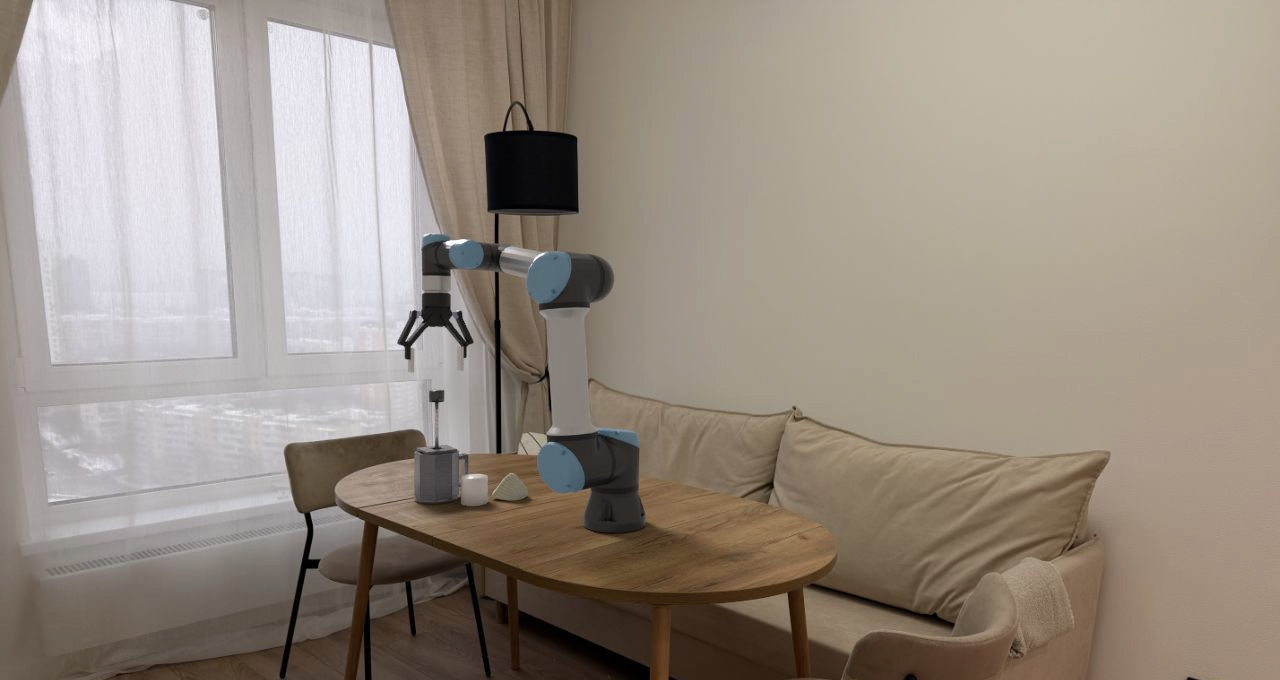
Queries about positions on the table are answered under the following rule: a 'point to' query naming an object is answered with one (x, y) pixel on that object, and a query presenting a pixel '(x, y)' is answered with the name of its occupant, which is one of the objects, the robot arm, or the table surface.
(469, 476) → the white pillar candle
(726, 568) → the table surface
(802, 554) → the table surface
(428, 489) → the press
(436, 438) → the plunger
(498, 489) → the seashell
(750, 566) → the table surface
